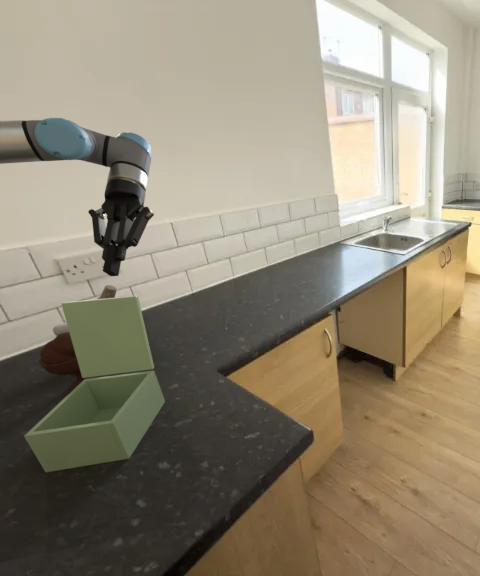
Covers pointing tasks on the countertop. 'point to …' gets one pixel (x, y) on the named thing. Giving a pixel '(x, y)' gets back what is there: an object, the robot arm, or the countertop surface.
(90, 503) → the countertop surface
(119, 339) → the chest lid
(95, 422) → the chest
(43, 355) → the ice cream bowl
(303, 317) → the countertop surface
